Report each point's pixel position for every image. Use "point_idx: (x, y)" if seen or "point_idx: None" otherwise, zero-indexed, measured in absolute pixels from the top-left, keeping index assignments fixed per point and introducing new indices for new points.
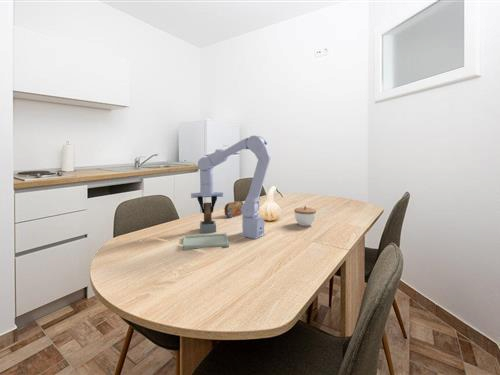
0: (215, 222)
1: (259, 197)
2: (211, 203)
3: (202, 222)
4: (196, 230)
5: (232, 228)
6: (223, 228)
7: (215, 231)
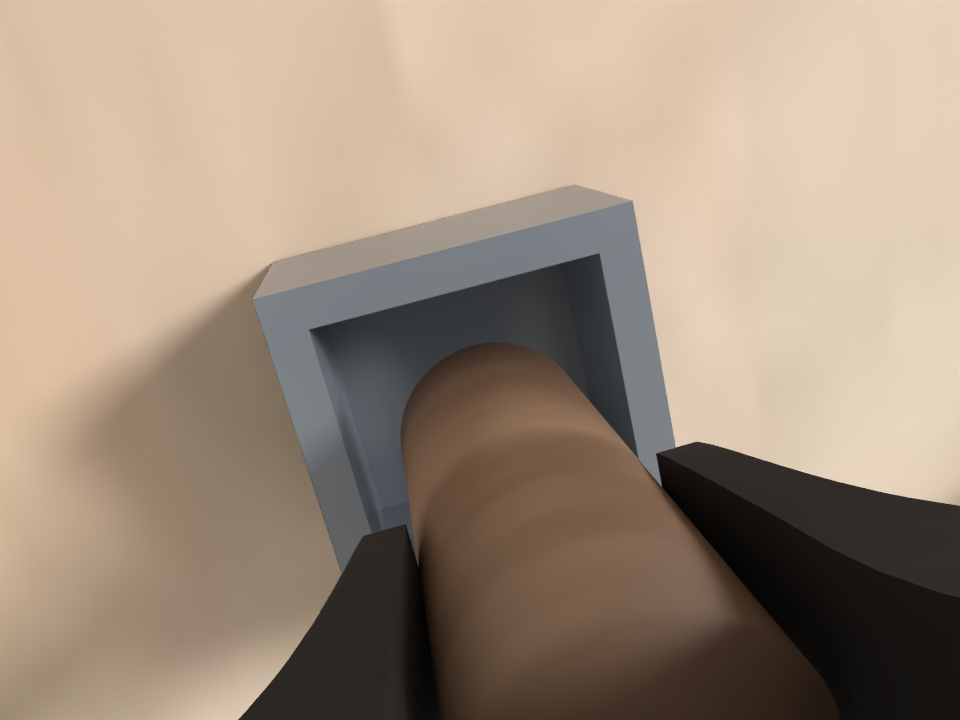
0: (663, 380)
1: None
2: (818, 568)
3: (329, 318)
4: (209, 313)
5: (904, 127)
6: (734, 135)
7: None
